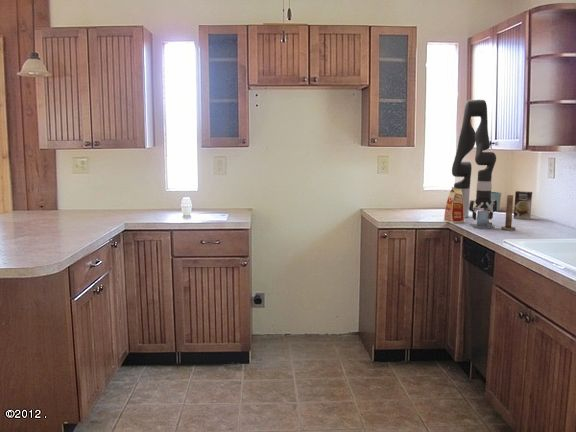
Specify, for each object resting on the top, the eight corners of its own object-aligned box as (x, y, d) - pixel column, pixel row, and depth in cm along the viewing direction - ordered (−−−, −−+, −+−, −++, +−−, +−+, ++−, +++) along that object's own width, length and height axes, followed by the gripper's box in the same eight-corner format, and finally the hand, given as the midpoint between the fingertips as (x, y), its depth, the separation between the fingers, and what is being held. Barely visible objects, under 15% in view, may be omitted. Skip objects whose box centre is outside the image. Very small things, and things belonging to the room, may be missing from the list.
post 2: (498, 228, 300) (500, 194, 298) (511, 228, 300) (514, 194, 298) (504, 230, 293) (506, 196, 291) (517, 230, 294) (519, 196, 291)
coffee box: (513, 218, 334) (514, 191, 332) (514, 217, 340) (516, 190, 338) (529, 219, 330) (531, 192, 328) (530, 218, 336) (532, 191, 333)
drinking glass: (501, 210, 370) (502, 192, 368) (498, 212, 362) (499, 193, 360) (485, 209, 375) (486, 191, 374) (482, 211, 367) (483, 192, 365)
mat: (469, 225, 309) (469, 223, 309) (487, 225, 310) (487, 223, 310) (476, 228, 300) (476, 226, 299) (494, 228, 300) (494, 226, 300)
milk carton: (451, 223, 318) (453, 187, 315) (443, 220, 326) (444, 186, 324) (466, 222, 320) (467, 187, 317) (457, 220, 329) (458, 185, 326)
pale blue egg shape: (475, 224, 307) (476, 210, 306) (485, 224, 307) (486, 210, 306) (478, 226, 302) (479, 211, 301) (489, 226, 302) (490, 211, 301)
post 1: (477, 223, 316) (478, 191, 313) (489, 223, 316) (491, 191, 314) (481, 225, 309) (483, 192, 306) (494, 225, 309) (496, 192, 307)
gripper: (494, 188, 306) (492, 218, 308) (468, 188, 305) (466, 218, 308) (499, 190, 298) (498, 220, 300) (473, 190, 298) (471, 220, 300)
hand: (482, 219), depth 304 cm, fingers open, 8 cm apart
